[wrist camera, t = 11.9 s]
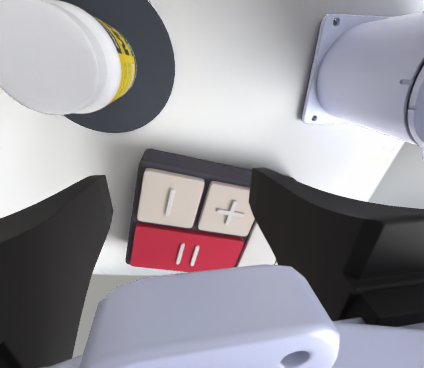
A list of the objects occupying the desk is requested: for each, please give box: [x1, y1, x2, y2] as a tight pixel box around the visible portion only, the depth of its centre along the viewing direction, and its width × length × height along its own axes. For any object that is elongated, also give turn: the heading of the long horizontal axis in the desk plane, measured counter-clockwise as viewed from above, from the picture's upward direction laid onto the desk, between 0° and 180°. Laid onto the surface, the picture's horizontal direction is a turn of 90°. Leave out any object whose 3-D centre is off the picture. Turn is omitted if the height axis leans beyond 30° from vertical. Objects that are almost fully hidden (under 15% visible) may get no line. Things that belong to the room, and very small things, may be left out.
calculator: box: [126, 149, 296, 272], centre depth 22 cm, size 11×4×15 cm
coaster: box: [59, 0, 175, 133], centre depth 16 cm, size 10×10×1 cm
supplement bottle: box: [0, 0, 137, 115], centre depth 12 cm, size 5×5×8 cm
